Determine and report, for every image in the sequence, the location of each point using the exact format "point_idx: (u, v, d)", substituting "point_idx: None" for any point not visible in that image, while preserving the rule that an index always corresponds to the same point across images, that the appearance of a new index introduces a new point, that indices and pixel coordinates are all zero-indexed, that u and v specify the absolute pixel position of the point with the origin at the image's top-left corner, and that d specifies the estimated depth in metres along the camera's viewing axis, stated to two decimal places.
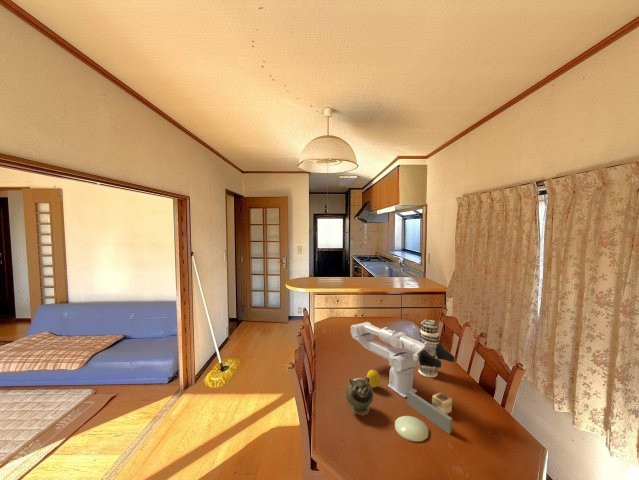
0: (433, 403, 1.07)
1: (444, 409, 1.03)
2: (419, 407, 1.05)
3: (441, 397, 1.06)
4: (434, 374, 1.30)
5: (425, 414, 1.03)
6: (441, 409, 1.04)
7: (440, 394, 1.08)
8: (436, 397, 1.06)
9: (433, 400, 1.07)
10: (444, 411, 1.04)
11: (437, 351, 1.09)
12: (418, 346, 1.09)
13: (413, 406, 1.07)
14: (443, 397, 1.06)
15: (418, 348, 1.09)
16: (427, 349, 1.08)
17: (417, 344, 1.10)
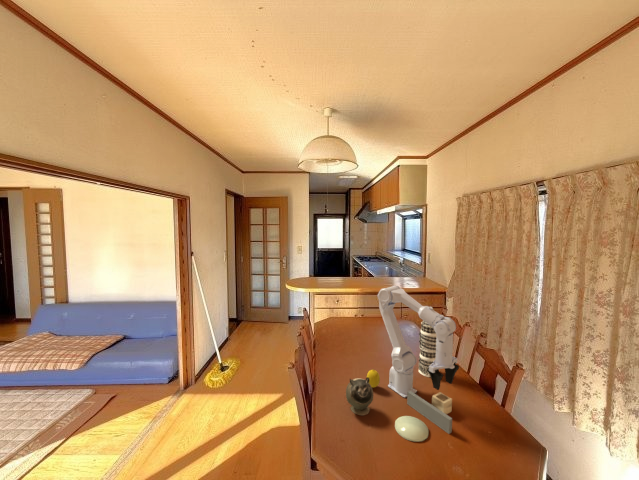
0: (433, 403, 1.07)
1: (444, 409, 1.03)
2: (419, 407, 1.05)
3: (441, 397, 1.06)
4: None
5: (425, 414, 1.03)
6: (441, 409, 1.04)
7: (440, 394, 1.08)
8: (436, 397, 1.06)
9: (433, 400, 1.07)
10: (444, 411, 1.04)
11: None
12: (445, 361, 1.03)
13: (413, 406, 1.07)
14: (443, 397, 1.06)
15: (443, 361, 1.03)
16: None
17: (447, 358, 1.02)
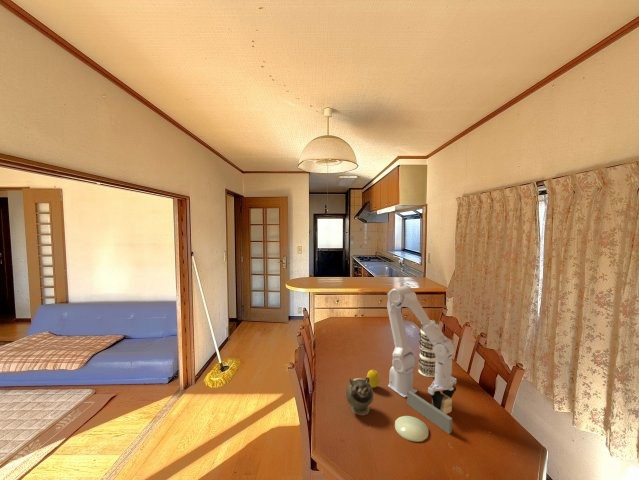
0: None
1: (444, 409, 1.03)
2: (419, 407, 1.05)
3: None
4: (434, 374, 1.30)
5: (425, 414, 1.03)
6: (441, 409, 1.04)
7: None
8: None
9: None
10: (444, 411, 1.04)
11: None
12: (444, 382, 1.03)
13: (413, 406, 1.07)
14: (443, 397, 1.06)
15: (442, 383, 1.03)
16: None
17: (446, 380, 1.03)
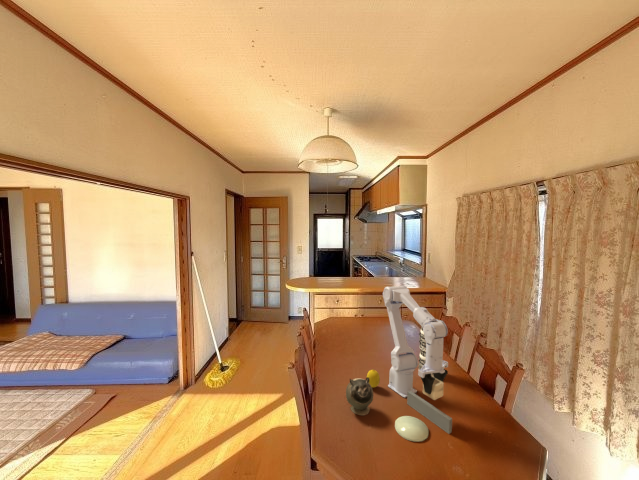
0: None
1: (435, 393, 0.99)
2: (419, 407, 1.05)
3: None
4: None
5: (425, 414, 1.03)
6: (432, 393, 1.00)
7: None
8: None
9: None
10: (435, 395, 0.99)
11: None
12: (435, 365, 0.99)
13: (413, 406, 1.07)
14: (434, 381, 1.02)
15: (433, 365, 0.99)
16: None
17: (437, 362, 0.99)
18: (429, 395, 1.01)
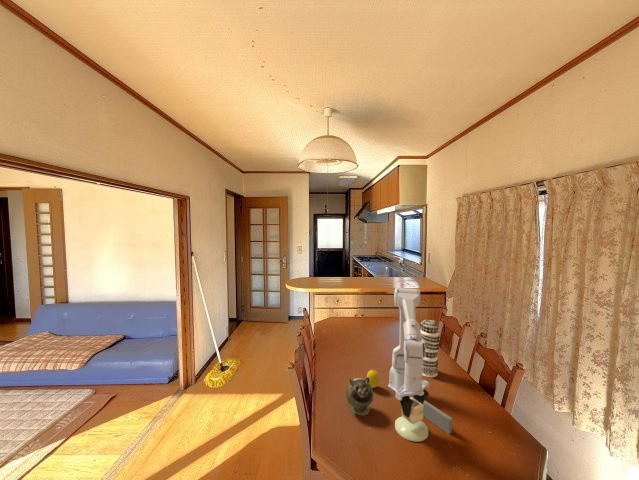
0: None
1: (414, 417, 0.93)
2: None
3: (412, 403, 0.96)
4: (434, 374, 1.30)
5: (425, 414, 1.03)
6: (411, 416, 0.93)
7: (411, 399, 0.97)
8: None
9: None
10: (414, 418, 0.93)
11: None
12: (413, 386, 0.93)
13: None
14: (414, 403, 0.96)
15: (411, 387, 0.93)
16: None
17: (416, 384, 0.93)
18: (408, 418, 0.94)
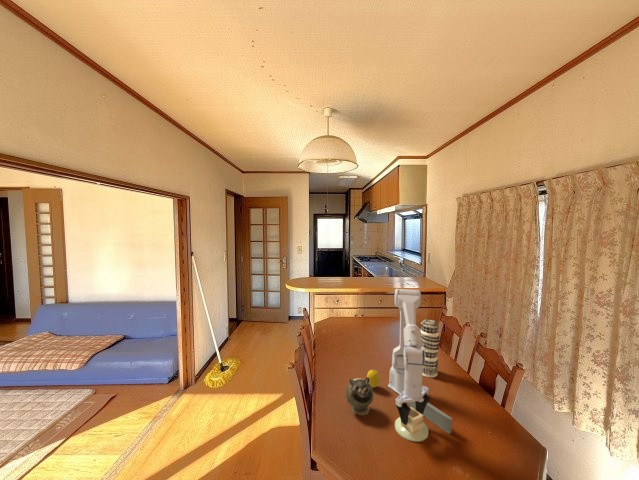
0: None
1: (413, 427, 0.93)
2: None
3: (412, 413, 0.96)
4: (434, 374, 1.30)
5: (425, 414, 1.03)
6: (410, 427, 0.94)
7: None
8: None
9: None
10: (413, 429, 0.93)
11: None
12: (413, 393, 0.93)
13: (413, 406, 1.07)
14: (413, 413, 0.96)
15: (411, 393, 0.93)
16: None
17: (415, 390, 0.93)
18: (407, 428, 0.95)
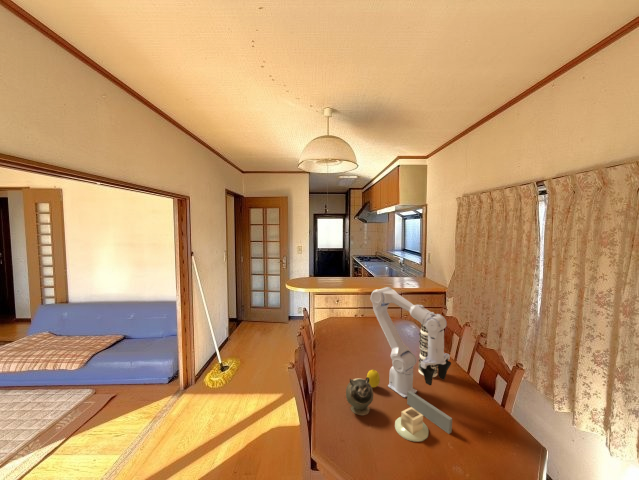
0: (402, 419, 0.96)
1: (413, 427, 0.93)
2: (419, 407, 1.05)
3: (411, 413, 0.96)
4: (434, 374, 1.30)
5: (425, 414, 1.03)
6: (410, 427, 0.94)
7: (410, 409, 0.98)
8: (405, 413, 0.96)
9: (402, 417, 0.97)
10: (413, 429, 0.93)
11: None
12: (436, 356, 1.05)
13: (413, 406, 1.07)
14: (413, 413, 0.96)
15: (434, 357, 1.05)
16: None
17: (438, 354, 1.05)
18: (407, 428, 0.95)
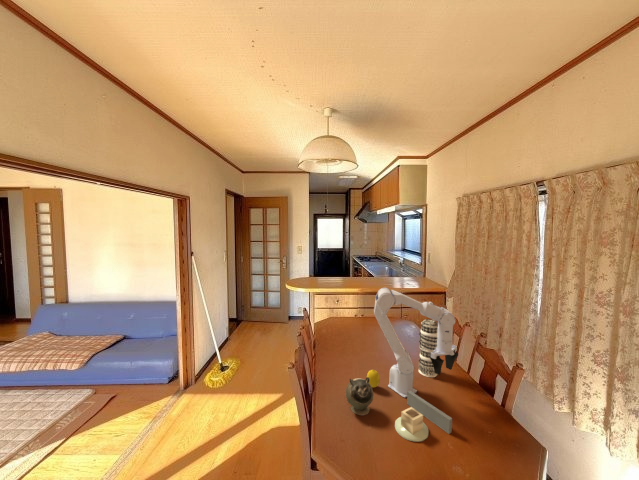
0: (402, 419, 0.96)
1: (413, 427, 0.93)
2: (419, 407, 1.05)
3: (411, 413, 0.96)
4: (434, 374, 1.30)
5: (425, 414, 1.03)
6: (410, 427, 0.94)
7: (410, 409, 0.98)
8: (405, 413, 0.96)
9: (402, 417, 0.97)
10: (413, 429, 0.93)
11: None
12: (445, 348, 1.12)
13: (413, 406, 1.07)
14: (413, 413, 0.96)
15: (443, 348, 1.13)
16: None
17: (447, 346, 1.12)
18: (407, 428, 0.95)
